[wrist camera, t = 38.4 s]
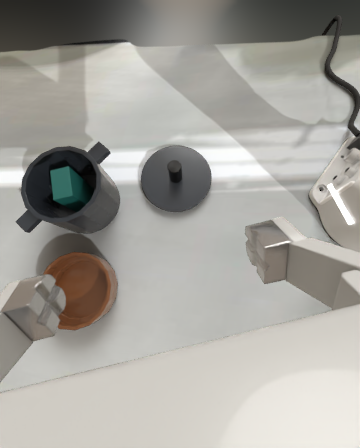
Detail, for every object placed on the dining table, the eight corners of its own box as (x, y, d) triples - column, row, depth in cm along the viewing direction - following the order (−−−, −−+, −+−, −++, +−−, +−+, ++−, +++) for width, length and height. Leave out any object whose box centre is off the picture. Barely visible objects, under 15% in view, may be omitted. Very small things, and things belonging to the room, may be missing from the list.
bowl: (75, 243, 42) (63, 240, 38) (130, 272, 40) (123, 272, 36) (39, 303, 40) (22, 306, 36) (96, 337, 38) (85, 344, 34)
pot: (34, 215, 43) (-9, 199, 34) (99, 152, 46) (76, 121, 37) (76, 258, 41) (43, 253, 32) (142, 189, 44) (129, 166, 34)
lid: (128, 183, 44) (119, 170, 38) (173, 136, 46) (170, 117, 40) (179, 227, 42) (178, 219, 36) (224, 175, 43) (230, 161, 38)
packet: (93, 187, 44) (68, 166, 35) (96, 211, 42) (72, 195, 34) (78, 191, 44) (49, 170, 35) (81, 215, 42) (53, 200, 34)
